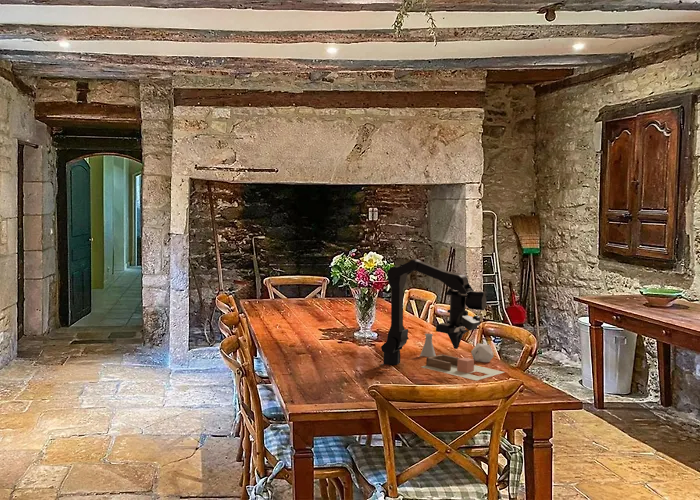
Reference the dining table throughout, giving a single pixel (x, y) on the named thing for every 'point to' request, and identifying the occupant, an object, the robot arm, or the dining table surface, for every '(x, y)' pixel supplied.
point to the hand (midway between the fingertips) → (455, 348)
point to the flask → (428, 347)
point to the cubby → (442, 361)
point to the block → (465, 365)
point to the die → (482, 353)
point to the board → (466, 375)
